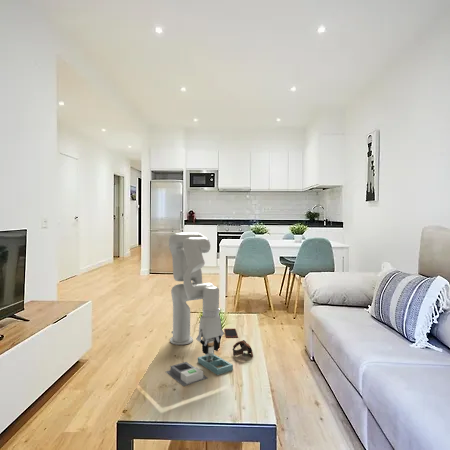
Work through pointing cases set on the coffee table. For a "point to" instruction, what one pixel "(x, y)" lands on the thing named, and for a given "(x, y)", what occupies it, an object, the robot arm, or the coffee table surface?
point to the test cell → (210, 350)
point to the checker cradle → (186, 373)
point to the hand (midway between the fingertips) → (210, 351)
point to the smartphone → (230, 333)
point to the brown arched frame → (242, 348)
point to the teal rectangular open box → (216, 364)
